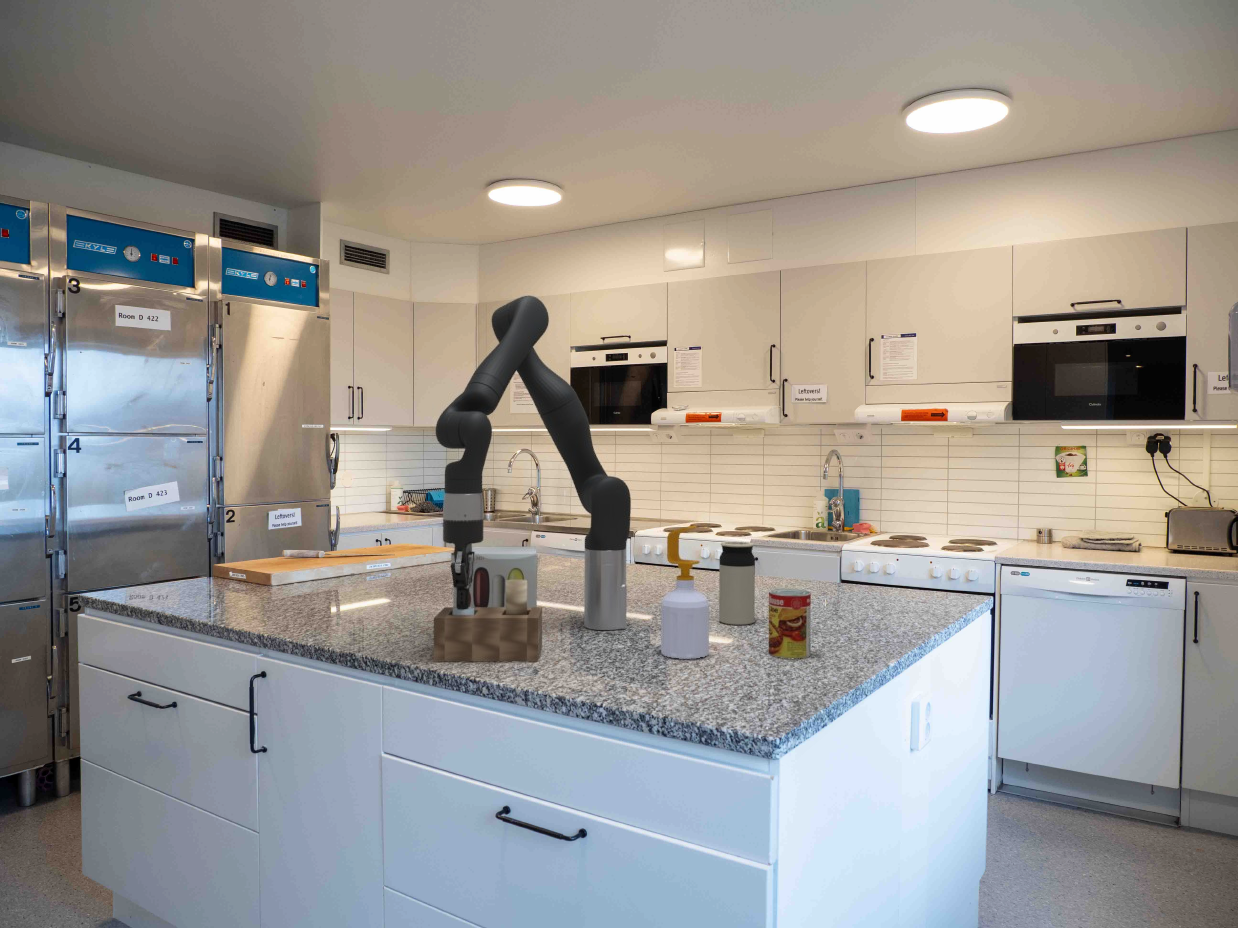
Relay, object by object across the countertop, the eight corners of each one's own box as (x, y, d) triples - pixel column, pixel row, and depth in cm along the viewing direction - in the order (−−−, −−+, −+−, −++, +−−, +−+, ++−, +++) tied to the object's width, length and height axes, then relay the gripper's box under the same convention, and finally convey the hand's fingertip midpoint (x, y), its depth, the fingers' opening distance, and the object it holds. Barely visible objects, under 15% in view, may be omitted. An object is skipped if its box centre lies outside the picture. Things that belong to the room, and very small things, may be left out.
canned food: (765, 649, 164) (766, 588, 164) (806, 649, 164) (806, 588, 164) (771, 659, 156) (772, 594, 156) (814, 659, 156) (814, 595, 156)
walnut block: (542, 647, 164) (542, 607, 164) (537, 661, 153) (538, 617, 153) (444, 647, 164) (444, 607, 164) (433, 661, 153) (433, 617, 153)
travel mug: (738, 627, 185) (739, 545, 185) (711, 621, 191) (712, 542, 191) (761, 622, 191) (762, 543, 190) (734, 617, 196) (735, 540, 196)
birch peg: (527, 618, 161) (528, 579, 161) (526, 622, 157) (526, 582, 157) (506, 618, 161) (507, 579, 161) (504, 622, 157) (504, 582, 157)
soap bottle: (695, 662, 153) (696, 528, 153) (652, 655, 158) (652, 525, 158) (716, 652, 161) (717, 524, 161) (674, 646, 166) (675, 522, 166)
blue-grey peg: (475, 645, 161) (475, 606, 161) (472, 650, 157) (472, 610, 157) (454, 645, 161) (454, 606, 160) (450, 650, 157) (450, 610, 156)
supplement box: (451, 642, 169) (452, 552, 169) (456, 628, 183) (456, 545, 182) (537, 640, 171) (538, 552, 171) (536, 627, 185) (536, 545, 184)
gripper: (478, 519, 152) (477, 615, 152) (488, 514, 165) (487, 602, 165) (436, 519, 152) (436, 615, 152) (449, 514, 165) (449, 602, 165)
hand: (462, 608), depth 159 cm, fingers closed
